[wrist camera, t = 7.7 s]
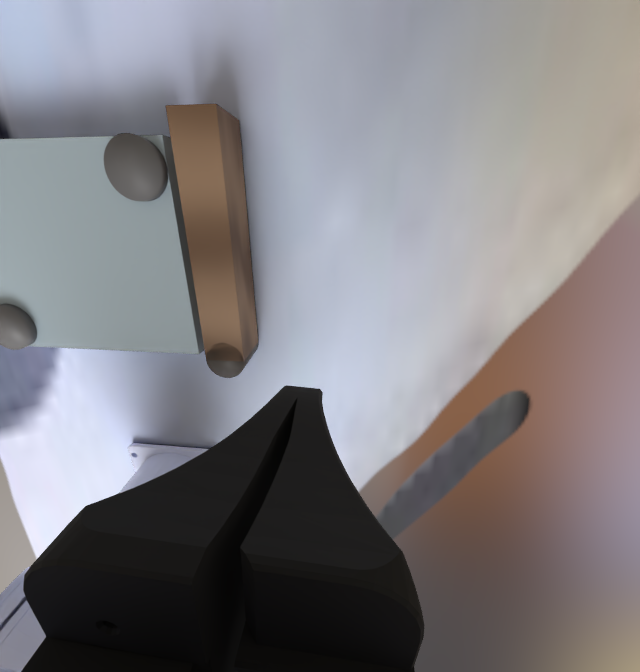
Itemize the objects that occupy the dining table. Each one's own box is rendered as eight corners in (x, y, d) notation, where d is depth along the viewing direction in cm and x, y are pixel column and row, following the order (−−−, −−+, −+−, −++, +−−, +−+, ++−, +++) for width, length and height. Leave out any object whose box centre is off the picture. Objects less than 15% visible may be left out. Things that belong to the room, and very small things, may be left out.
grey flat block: (215, 338, 22) (194, 358, 19) (38, 331, 24) (-6, 348, 21) (187, 143, 18) (154, 132, 15) (-32, 149, 19) (-99, 139, 16)
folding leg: (259, 357, 22) (245, 378, 20) (226, 355, 23) (208, 376, 20) (239, 120, 17) (215, 103, 14) (196, 121, 17) (165, 105, 14)
